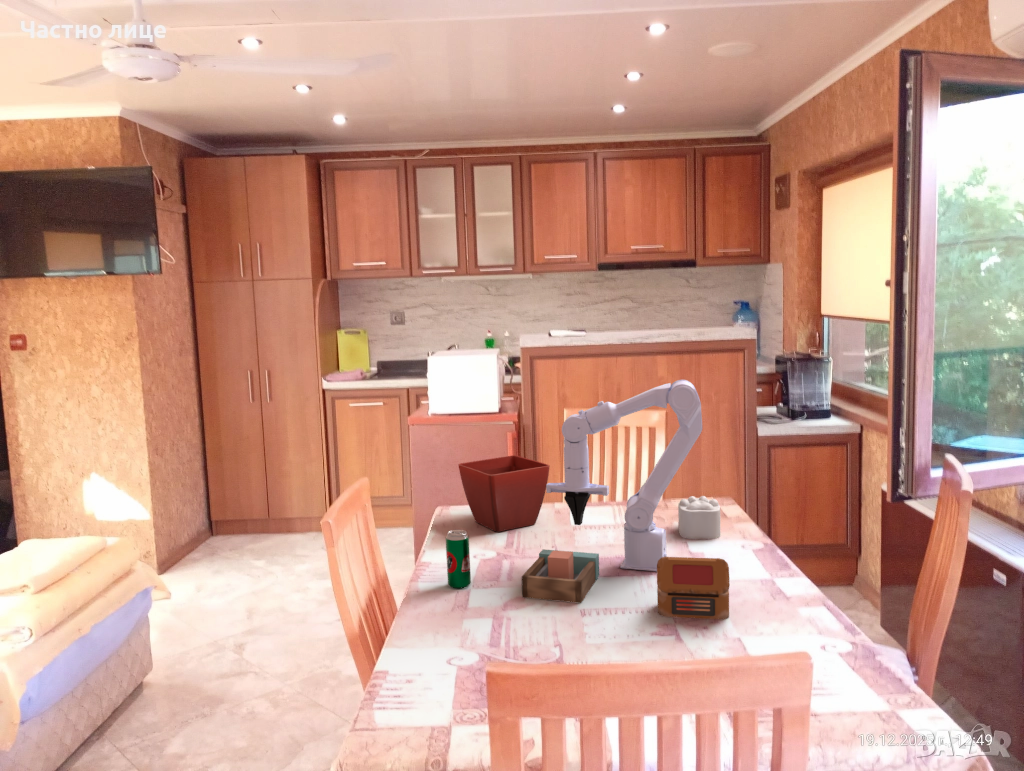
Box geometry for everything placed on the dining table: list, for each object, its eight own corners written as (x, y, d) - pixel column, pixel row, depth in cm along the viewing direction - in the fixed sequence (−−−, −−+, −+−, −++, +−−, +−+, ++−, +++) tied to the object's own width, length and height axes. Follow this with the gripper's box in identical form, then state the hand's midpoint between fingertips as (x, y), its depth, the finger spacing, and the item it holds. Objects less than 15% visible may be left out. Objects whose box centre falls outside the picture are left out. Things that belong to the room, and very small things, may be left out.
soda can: (467, 590, 165) (465, 536, 164) (445, 589, 166) (442, 535, 165) (473, 581, 170) (471, 529, 169) (451, 580, 171) (449, 528, 170)
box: (759, 589, 161) (759, 534, 159) (777, 649, 134) (777, 585, 132) (625, 584, 167) (624, 531, 165) (616, 641, 139) (614, 579, 138)
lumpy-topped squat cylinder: (680, 539, 194) (680, 505, 193) (676, 523, 207) (676, 492, 206) (722, 539, 192) (722, 505, 191) (716, 523, 205) (715, 492, 204)
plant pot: (517, 509, 226) (514, 454, 224) (553, 525, 210) (551, 464, 208) (459, 521, 216) (456, 463, 215) (492, 538, 200) (490, 475, 198)
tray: (599, 575, 170) (598, 553, 170) (583, 599, 157) (582, 576, 156) (543, 570, 175) (542, 549, 174) (523, 593, 161) (522, 571, 161)
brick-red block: (569, 586, 162) (568, 558, 161) (548, 584, 163) (547, 557, 163) (573, 578, 166) (573, 551, 166) (553, 576, 168) (552, 550, 167)
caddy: (595, 581, 167) (594, 561, 167) (581, 603, 156) (580, 581, 155) (540, 576, 172) (539, 557, 171) (522, 597, 160) (521, 576, 160)
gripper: (611, 464, 178) (612, 520, 180) (551, 461, 183) (553, 517, 185) (604, 470, 171) (606, 529, 173) (542, 468, 176) (544, 525, 178)
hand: (578, 523), depth 178 cm, fingers closed
